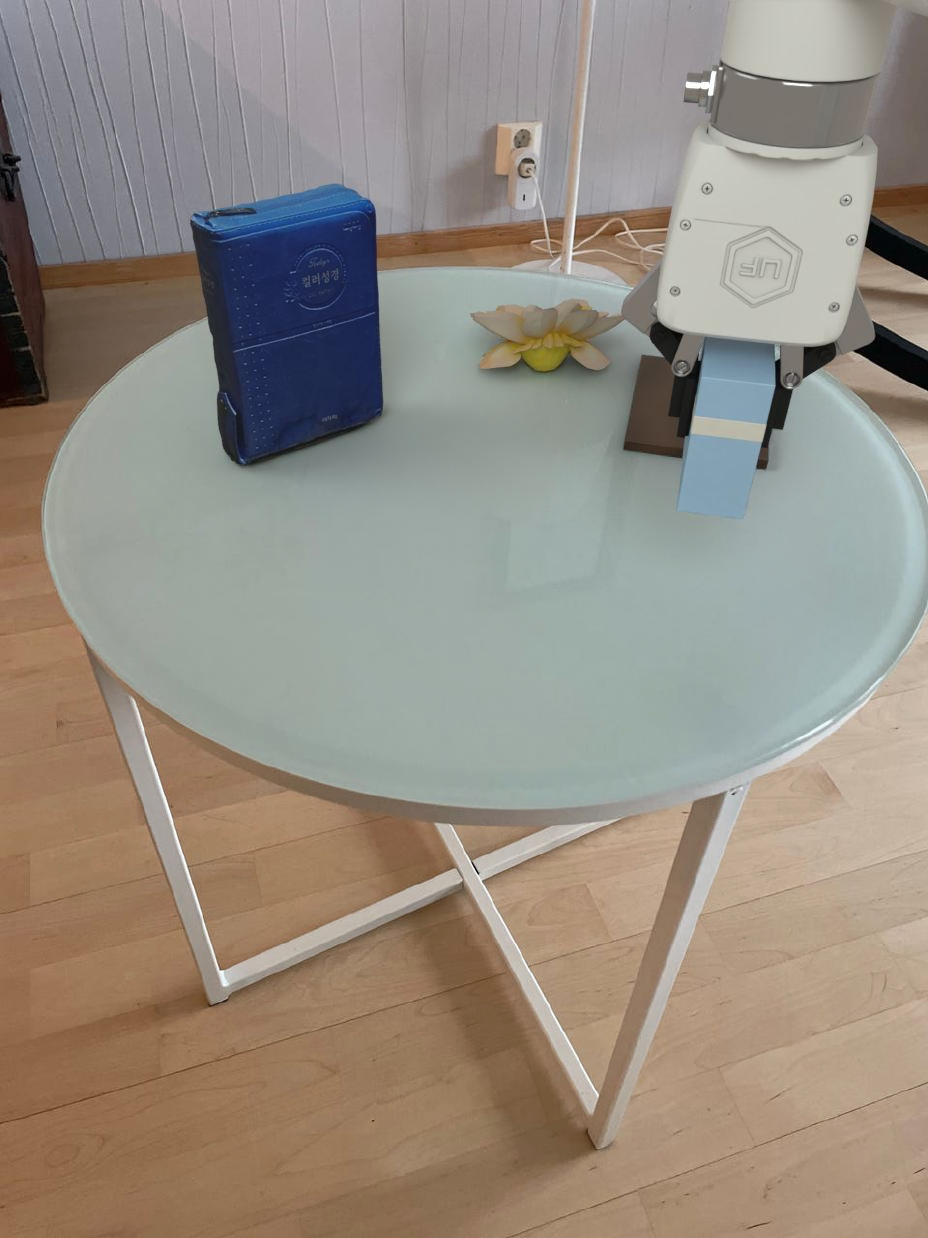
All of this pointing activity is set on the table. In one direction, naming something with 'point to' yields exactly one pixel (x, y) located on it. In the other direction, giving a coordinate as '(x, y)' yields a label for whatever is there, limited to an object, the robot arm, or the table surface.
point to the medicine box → (726, 426)
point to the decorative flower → (546, 335)
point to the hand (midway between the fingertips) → (722, 428)
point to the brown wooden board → (658, 413)
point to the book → (292, 318)
